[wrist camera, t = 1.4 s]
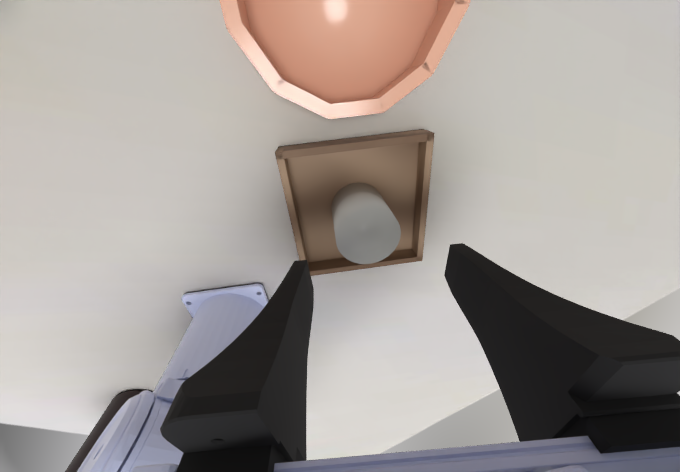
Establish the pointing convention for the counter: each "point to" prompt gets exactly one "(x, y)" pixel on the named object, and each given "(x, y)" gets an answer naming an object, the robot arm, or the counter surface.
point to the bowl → (344, 48)
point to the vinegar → (100, 428)
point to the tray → (352, 167)
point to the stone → (364, 224)
